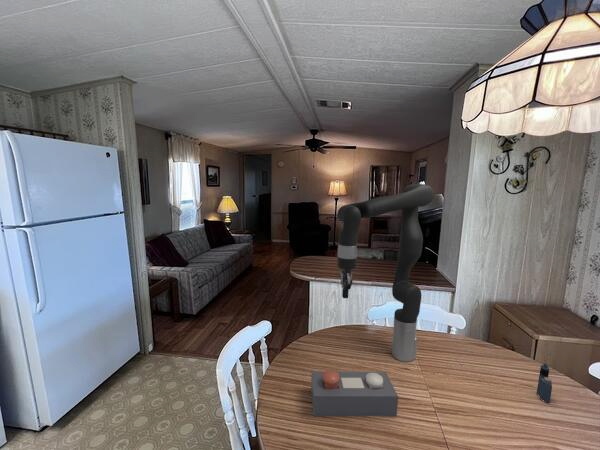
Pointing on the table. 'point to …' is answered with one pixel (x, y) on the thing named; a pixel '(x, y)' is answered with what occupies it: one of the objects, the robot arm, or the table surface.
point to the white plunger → (374, 381)
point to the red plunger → (330, 379)
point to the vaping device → (544, 384)
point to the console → (353, 396)
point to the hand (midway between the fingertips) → (345, 297)
